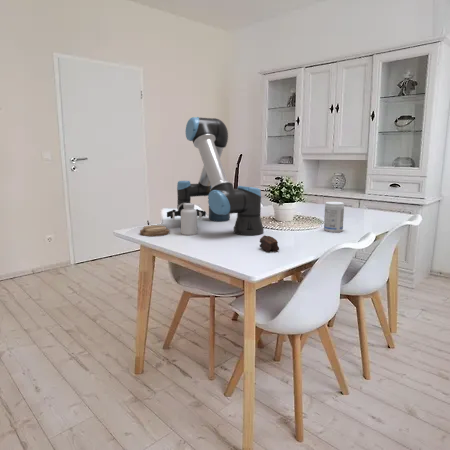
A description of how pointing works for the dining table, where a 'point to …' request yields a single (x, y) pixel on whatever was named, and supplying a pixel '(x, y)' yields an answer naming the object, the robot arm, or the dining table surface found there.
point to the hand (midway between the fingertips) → (187, 216)
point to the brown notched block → (269, 243)
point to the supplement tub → (334, 216)
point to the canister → (218, 216)
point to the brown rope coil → (154, 230)
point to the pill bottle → (188, 219)
